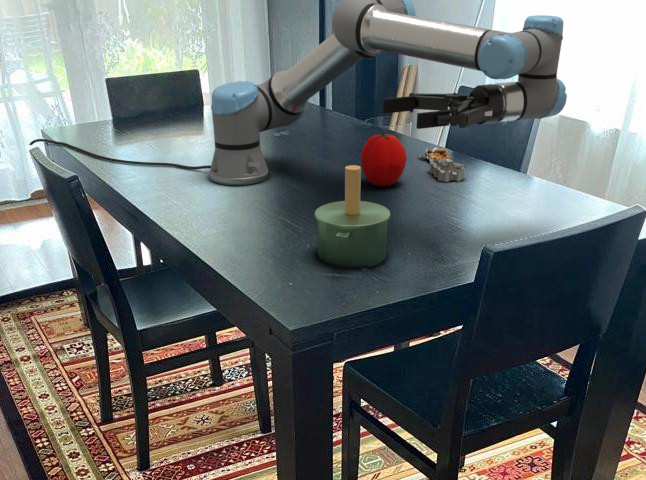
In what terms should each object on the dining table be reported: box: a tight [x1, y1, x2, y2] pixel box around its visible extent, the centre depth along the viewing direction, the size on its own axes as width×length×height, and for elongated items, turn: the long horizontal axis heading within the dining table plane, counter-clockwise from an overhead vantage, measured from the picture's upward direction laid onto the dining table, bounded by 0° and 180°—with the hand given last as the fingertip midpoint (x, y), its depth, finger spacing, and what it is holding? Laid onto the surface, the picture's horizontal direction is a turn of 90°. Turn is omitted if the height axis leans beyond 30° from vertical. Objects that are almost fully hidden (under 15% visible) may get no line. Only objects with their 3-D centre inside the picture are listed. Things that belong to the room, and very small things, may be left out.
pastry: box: [419, 147, 452, 161], centre depth 212 cm, size 7×12×4 cm, turn 24°
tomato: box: [360, 131, 408, 187], centre depth 192 cm, size 12×12×13 cm
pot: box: [316, 219, 388, 269], centre depth 152 cm, size 14×19×8 cm
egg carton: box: [429, 159, 467, 183], centre depth 200 cm, size 11×8×4 cm
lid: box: [314, 164, 391, 229], centre depth 147 cm, size 15×15×10 cm
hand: (399, 113), depth 144 cm, fingers open, 13 cm apart
